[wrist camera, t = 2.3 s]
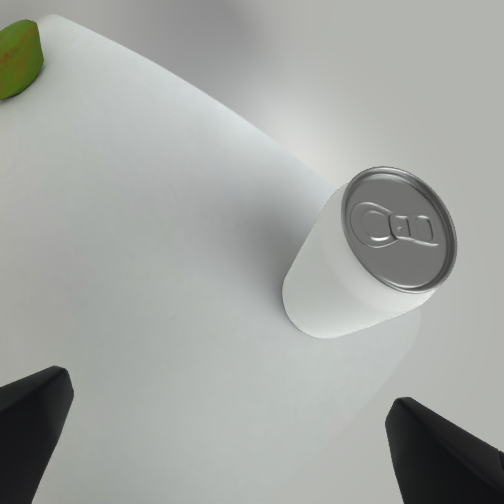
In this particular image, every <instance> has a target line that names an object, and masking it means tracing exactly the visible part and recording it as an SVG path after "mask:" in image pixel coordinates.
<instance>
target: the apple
mask: <svg viewBox="0 0 504 504" xmlns="http://www.w3.org/2000/svg"><path fill="white" fill-rule="evenodd" d="M43 62H44V58H43V54H42V50H41V44H40V37H39V31H38V27H37V23H35V22H33V21H30V20H27V19H26V20H21V21H18V22H15V23H13V24H11V25H9V26H8V27H6V28H4V29H3V30H1V31H0V100H1V99H5V98H8V97H11V96H14V95H16V94H18V93H20V92H21V91H23V90H24V89H25V88H27V87H28V86H29V85H30V84H31V83H32V82H33V81H34V79H35V78H36V77H37V75H38V73H39V71H40V69H41V67H42V65H43Z"/></svg>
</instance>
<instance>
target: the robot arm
mask: <svg viewBox="0 0 504 504" xmlns="http://www.w3.org/2000/svg"><path fill="white" fill-rule="evenodd" d="M73 397H74V391H73V387H72V383H71V380H70V376H69V373H68V371H67V370H66V369H65V368H62V367H59V366H51V367H49V368H47V369H44V370H42V371H39V372H37V373H35V374H32V375H30V376H27V377H25V378H22V379H20V380H17V381H15V382H12V383H10V384H7V385H5V386H2V387H0V504H31V503H32V500H33V498H34V495H35V493H36V490H37V488H38V485H39V483H40V481H41V478H42V476H43V473H44V471H45V469H46V467H47V464H48V462H49V460H50V458H51V455H52V453H53V451H54V449H55V447H56V445H57V442H58V440H59V437H60V435H61V432H62V429H63V426H64V423H65V420H66V417H67V415H68V412H69V409H70V406H71V404H72V401H73ZM385 427H386V432H387V437H388V442H389V447H390V452H391V458H392V463H393V467H394V471H395V475H396V478H397V481H398V485H399V488H400V491H401V495H402V498H403V502H404V504H504V453H503V452H502V451H499V450H498V449H496V448H495V447H493V446H491V445H489V444H487V443H486V442H484V441H482V440H480V439H479V438H477V437H475V436H474V435H472V434H470V433H469V432H467V431H465V430H463V429H462V428H460V427H458V426H456V425H455V424H453V423H452V422H450V421H448V420H446V419H445V418H443V417H442V416H440V415H438V414H437V413H435V412H433V411H432V410H430V409H428V408H427V407H425V406H423V405H422V404H420V403H419V402H417V401H416V400H414V399H412V398H411V397H402V398H397V399H396V400H395V401H394V403H393V405H392V407H391V409H390V411H389V414H388V415H387V417H386V421H385Z"/></svg>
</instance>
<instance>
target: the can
mask: <svg viewBox="0 0 504 504" xmlns="http://www.w3.org/2000/svg"><path fill="white" fill-rule="evenodd" d="M456 255H457V237H456V232H455V227H454V224H453V221H452V219H451V216H450V214H449V212H448V210H447V208H446V206H445V205H444V203H443V202H442V200H441V199H440V198H439V196H438V195H437V194H436V193H435V192H434V190H432V188H431V187H429V186H428V185H427V184H426V183H425V182H423V181H422V180H421V179H419V178H418V177H416V176H415V175H413V174H411V173H409V172H407V171H404V170H401V169H398V168H394V167H383V166H381V167H373V168H369V169H367V170H364V171H362V172H361V173H359V174H358V175H356V176H355V177H354V178H353V179H352V180H351V181H350V182H349V183H347V184H345V185H343V186H342V187H341V188H339V189H338V190H337V191H336V192H335V193H334V194H333V195H332V196H331V198H330V199H329V200H328V202H327V203H326V205H325V206H324V208H323V210H322V211H321V213H320V215H319V217H318V219H317V220H316V222H315V224H314V226H313V228H312V229H311V231H310V233H309V235H308V237H307V238H306V240H305V242H304V244H303V246H302V247H301V249H300V251H299V253H298V255H297V256H296V258H295V260H294V262H293V264H292V265H291V267H290V269H289V271H288V273H287V275H286V277H285V279H284V282H283V287H282V297H283V303H284V307H285V310H286V313H287V315H288V317H289V318H290V320H291V321H292V322H293V324H294V325H295V326H296V327H297V328H299V329H300V330H301V331H303V332H304V333H306V334H308V335H310V336H313V337H317V338H324V339H327V338H335V337H339V336H343V335H346V334H349V333H352V332H355V331H358V330H361V329H364V328H367V327H370V326H372V325H375V324H378V323H381V322H383V321H386V320H389V319H391V318H394V317H396V316H399V315H401V314H404V313H406V312H408V311H410V310H413V309H415V308H417V307H418V306H420V305H421V304H423V303H424V302H425V301H427V300H428V299H429V298H430V297H431V295H433V293H434V292H435V290H436V289H437V287H438V286H440V285H441V284H442V283H443V282H444V281H445V280H446V279H447V278H448V276H449V275H450V273H451V271H452V269H453V267H454V264H455V261H456Z"/></svg>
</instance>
